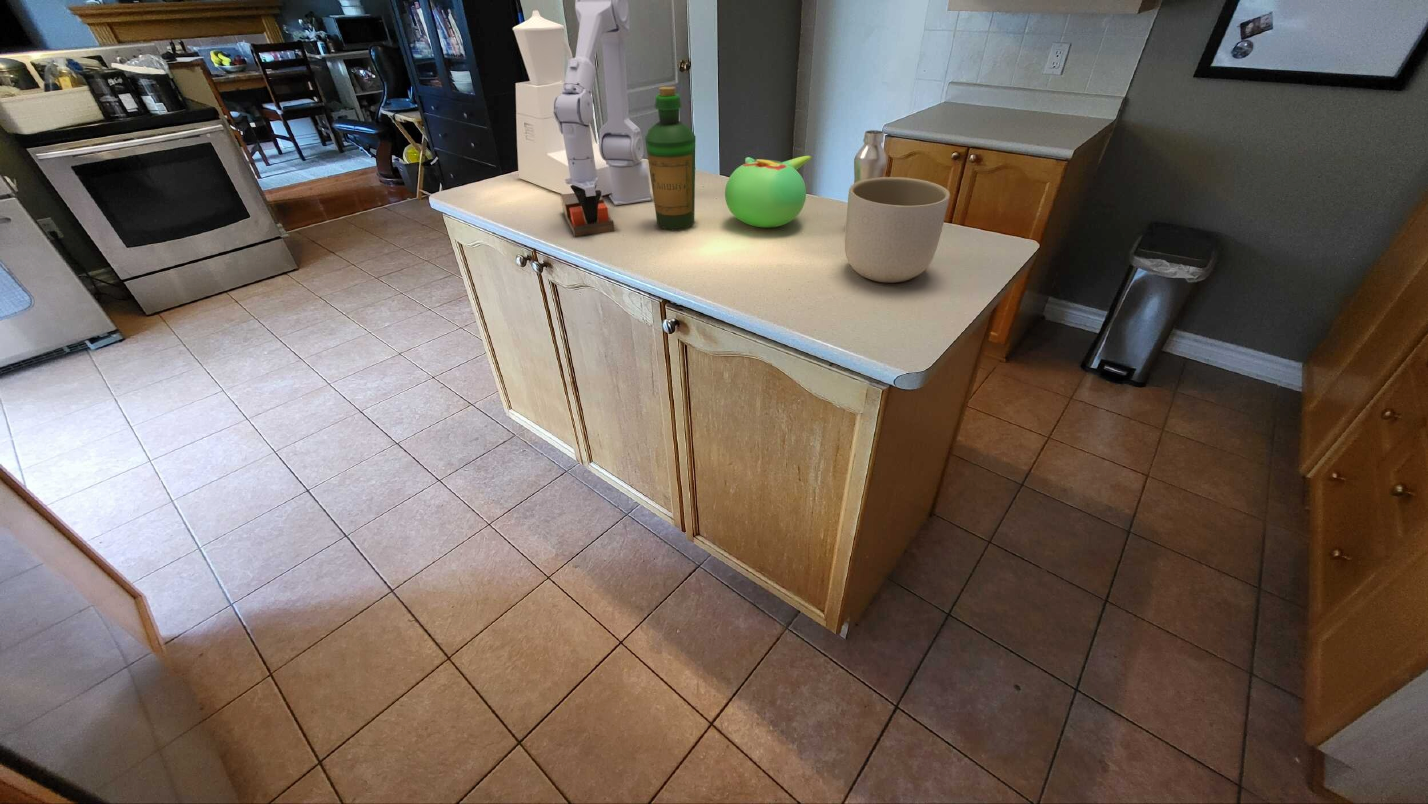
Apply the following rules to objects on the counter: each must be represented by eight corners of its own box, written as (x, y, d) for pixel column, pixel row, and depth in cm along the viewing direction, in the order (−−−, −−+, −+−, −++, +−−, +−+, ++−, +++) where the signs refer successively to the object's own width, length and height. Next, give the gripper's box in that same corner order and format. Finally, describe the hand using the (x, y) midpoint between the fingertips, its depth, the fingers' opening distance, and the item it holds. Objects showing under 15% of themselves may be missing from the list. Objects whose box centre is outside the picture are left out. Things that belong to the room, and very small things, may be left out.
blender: (640, 187, 155) (622, 10, 131) (583, 204, 145) (552, 15, 121) (573, 166, 174) (547, 7, 150) (519, 179, 164) (481, 12, 140)
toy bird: (714, 231, 128) (712, 162, 119) (743, 208, 140) (743, 144, 131) (790, 242, 121) (794, 170, 112) (813, 217, 133) (819, 150, 125)
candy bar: (606, 216, 132) (604, 202, 130) (609, 221, 130) (607, 207, 128) (571, 221, 130) (569, 207, 128) (574, 226, 128) (571, 212, 126)
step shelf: (599, 208, 142) (597, 190, 139) (614, 230, 129) (612, 211, 126) (563, 213, 140) (560, 194, 137) (575, 236, 127) (571, 216, 124)
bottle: (643, 228, 130) (630, 90, 113) (668, 214, 137) (658, 82, 120) (684, 236, 126) (676, 93, 109) (707, 220, 133) (702, 85, 116)
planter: (874, 247, 118) (886, 171, 109) (949, 272, 108) (969, 190, 98) (821, 271, 109) (829, 191, 100) (897, 301, 99) (914, 213, 90)
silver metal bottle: (877, 235, 123) (892, 136, 111) (845, 234, 124) (857, 135, 112) (876, 225, 128) (891, 129, 116) (846, 223, 129) (857, 128, 117)
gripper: (556, 151, 126) (567, 212, 134) (566, 167, 115) (578, 232, 123) (588, 147, 128) (597, 208, 136) (601, 163, 117) (610, 228, 125)
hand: (590, 219), depth 130 cm, fingers closed on candy bar, 3 cm apart
